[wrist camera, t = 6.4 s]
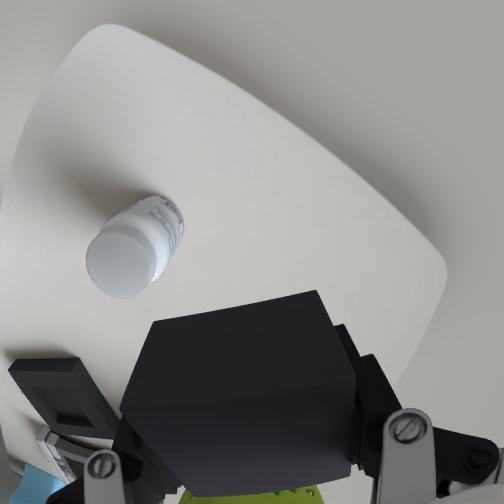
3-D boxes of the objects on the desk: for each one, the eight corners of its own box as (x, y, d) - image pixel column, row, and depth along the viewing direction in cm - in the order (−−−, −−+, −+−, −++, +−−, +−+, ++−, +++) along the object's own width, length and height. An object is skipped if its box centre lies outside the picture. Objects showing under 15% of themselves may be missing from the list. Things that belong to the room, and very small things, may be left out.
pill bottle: (128, 249, 24) (83, 299, 16) (128, 192, 22) (75, 220, 14) (184, 256, 24) (158, 311, 16) (187, 197, 22) (157, 227, 14)
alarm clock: (35, 439, 30) (128, 479, 30) (47, 420, 35) (136, 456, 35) (64, 483, 36) (141, 513, 36) (72, 467, 40) (146, 495, 40)
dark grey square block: (201, 420, 12) (194, 498, 8) (152, 320, 10) (117, 408, 6) (328, 399, 11) (350, 476, 8) (316, 288, 9) (356, 374, 6)
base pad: (60, 420, 32) (54, 432, 30) (16, 358, 28) (7, 370, 26) (124, 426, 32) (120, 440, 30) (79, 357, 28) (70, 371, 25)
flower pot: (317, 438, 33) (334, 520, 21) (263, 480, 37) (267, 547, 25) (217, 412, 31) (210, 510, 19) (177, 459, 35) (167, 533, 23)
